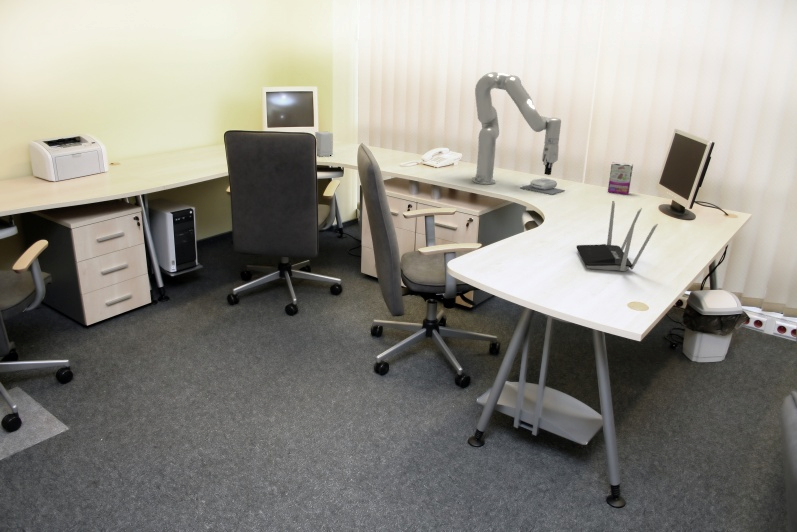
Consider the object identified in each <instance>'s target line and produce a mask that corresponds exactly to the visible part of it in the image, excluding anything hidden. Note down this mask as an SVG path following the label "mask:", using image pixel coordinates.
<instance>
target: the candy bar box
mask: <svg viewBox="0 0 797 532" xmlns="http://www.w3.org/2000/svg"><path fill="white" fill-rule="evenodd" d="M633 168H634V164H633V163H626V162H625V163H624V162H615V161H613V162H612V163H611V166H610V174H609V181H608V186H607V193H608V192H609V193H610V194H617V195H618V194H619V195H627V196H628V195H629V193H630V189H631V181H632V175H633V174H632V173H633Z"/></svg>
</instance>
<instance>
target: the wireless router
mask: <svg viewBox="0 0 797 532" xmlns="http://www.w3.org/2000/svg"><path fill="white" fill-rule="evenodd" d="M615 204H616V203H615V201H614V200H612V203H611V209H610V215H609V217H610V218H609V226H608V232H607V233H608V234H607V240H606V241H607V242H606V243H603V244H578V245H576V246H575V247H576V249H577V252H578V253H579V255H580V257H581V260H582V262H583V264H584V265H585V267H586V268H587V269H589V270H591V269H592V270H593V269H594V270H604V271H605V270H606V271H607V270H608V271H619V272H620V271H621V272H627V271H628V269H630V270H634V267H635V266H636V264H637V263H638V260H639V259H640V257H641V255H642V254H643V252H644V250H645V248H646V246H647V244H648V243H649V241H650V239H651V238H652V236H653V234H654V233H655V231H656V229H657V227H658V225H659V224H658V223H656V224H654V225H653V226H652V228H651V230H650V232H649V233H648V235H647V236H646V239H645V241H644V242H643V244H642V246H641V248H640V249H639V251H638V253H637V255H636V256H635V258H634V259H633V261H632V262H631V261H630V259H629V258H628V256H629V251H630V248H631V247H630V246H631V243H632V239H633V234H634V229H635V225H636V223H637V221H638V218H639V216H640V214H641V211H642V209H643V208H642V207H640V209H638V211H637V212H636V214H635V216H634V219H633V221H632V223H631V225H630V227H629V230H628V232H627V234H626V236H625V239H624V241H623V243H622V245H621V247H620V245H617V244H612V239H613V230H614V229H613V228H614V226H613V225H614V217H615Z"/></svg>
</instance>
